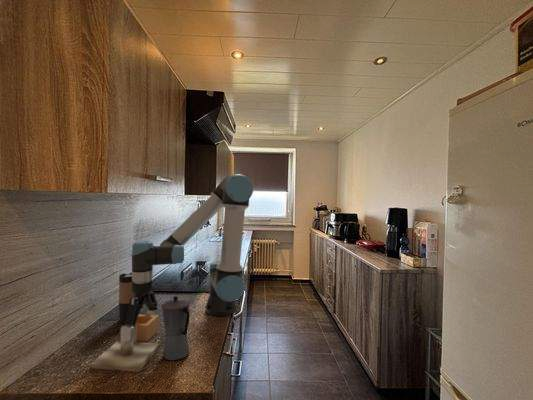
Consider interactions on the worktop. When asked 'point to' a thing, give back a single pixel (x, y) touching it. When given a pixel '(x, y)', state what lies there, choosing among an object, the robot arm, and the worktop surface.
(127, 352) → the post stand
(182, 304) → the moka pot
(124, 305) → the travel mug
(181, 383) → the worktop surface
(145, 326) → the open wooden box
